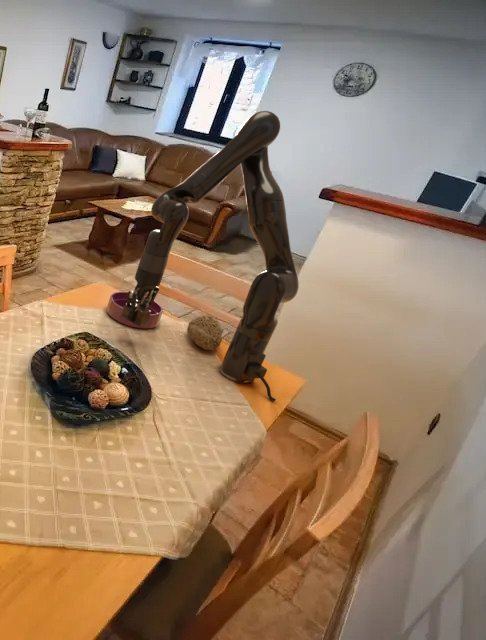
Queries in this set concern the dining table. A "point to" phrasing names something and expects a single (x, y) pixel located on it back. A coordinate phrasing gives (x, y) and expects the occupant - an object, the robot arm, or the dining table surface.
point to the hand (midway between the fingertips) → (134, 319)
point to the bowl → (117, 307)
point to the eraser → (138, 315)
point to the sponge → (206, 332)
